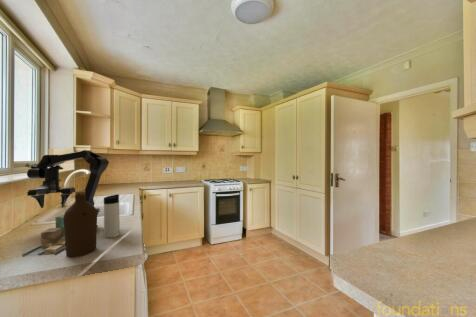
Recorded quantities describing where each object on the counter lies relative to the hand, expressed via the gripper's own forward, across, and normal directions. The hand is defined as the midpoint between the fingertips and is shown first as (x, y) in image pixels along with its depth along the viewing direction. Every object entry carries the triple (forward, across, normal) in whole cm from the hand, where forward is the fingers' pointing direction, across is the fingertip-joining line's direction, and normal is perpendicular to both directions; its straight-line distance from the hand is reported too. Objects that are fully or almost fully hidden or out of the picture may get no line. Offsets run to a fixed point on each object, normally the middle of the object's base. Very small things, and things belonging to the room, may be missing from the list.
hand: (52, 207), depth 108 cm
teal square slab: (+11, +14, -23) cm, 29 cm away
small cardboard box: (+11, +18, -33) cm, 39 cm away
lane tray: (+12, +16, -26) cm, 33 cm away
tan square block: (+11, +19, -28) cm, 35 cm away
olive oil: (+12, +29, -36) cm, 48 cm away
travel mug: (+12, +35, -21) cm, 43 cm away
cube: (+9, +13, -25) cm, 30 cm away
